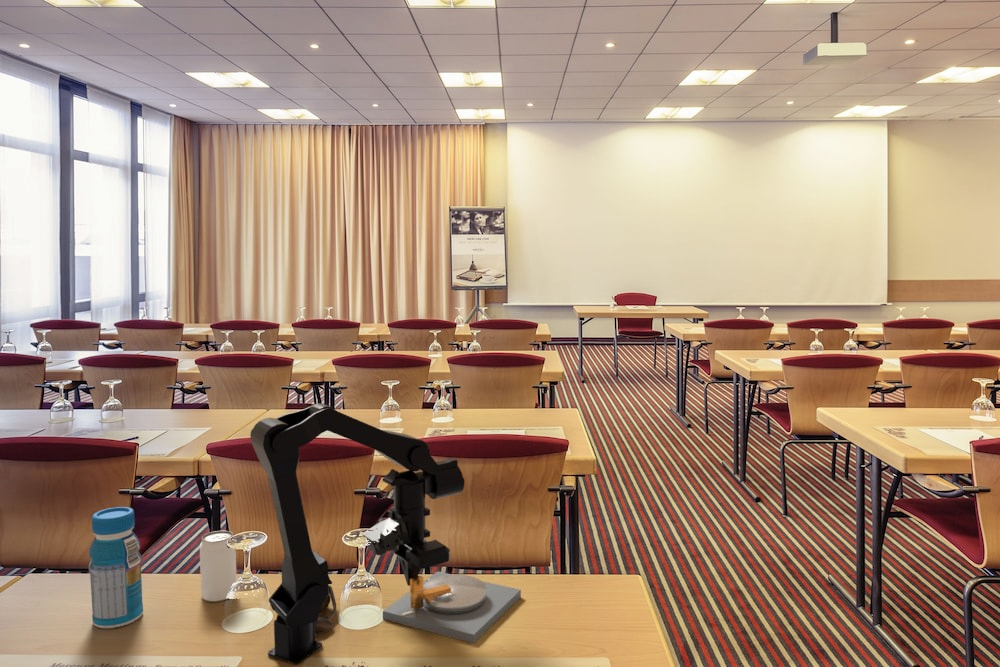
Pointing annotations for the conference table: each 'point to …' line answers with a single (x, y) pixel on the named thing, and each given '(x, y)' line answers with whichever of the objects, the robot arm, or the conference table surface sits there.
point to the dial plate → (455, 625)
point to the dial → (447, 593)
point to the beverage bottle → (115, 569)
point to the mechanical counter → (324, 622)
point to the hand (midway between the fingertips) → (410, 585)
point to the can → (217, 566)
